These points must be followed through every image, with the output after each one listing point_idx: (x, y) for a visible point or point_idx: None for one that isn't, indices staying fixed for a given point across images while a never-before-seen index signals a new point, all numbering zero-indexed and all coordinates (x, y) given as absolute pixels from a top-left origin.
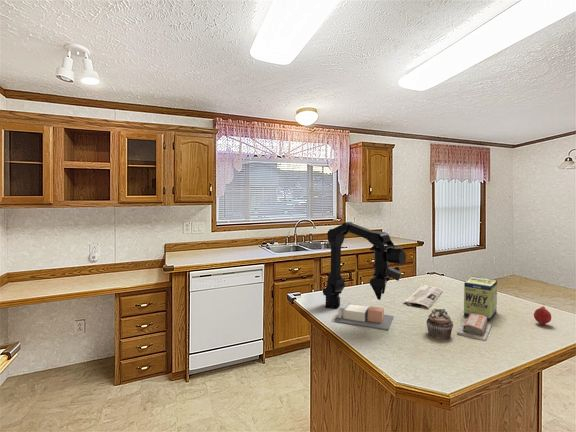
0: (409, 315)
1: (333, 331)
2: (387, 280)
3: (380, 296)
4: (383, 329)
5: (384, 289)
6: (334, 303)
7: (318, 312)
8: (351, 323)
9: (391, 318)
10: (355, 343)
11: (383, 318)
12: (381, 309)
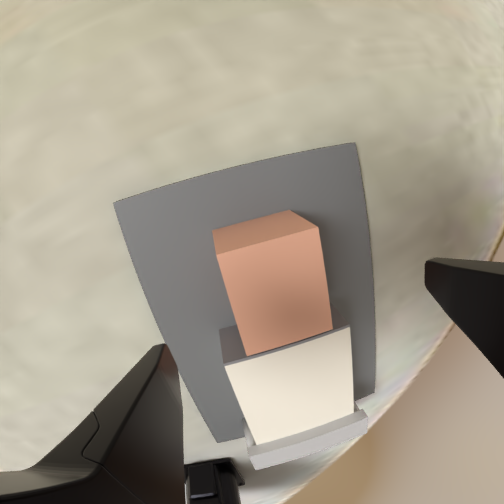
0: (29, 138)
1: (446, 333)
2: (59, 501)
3: (474, 264)
4: (357, 169)
5: (154, 379)
6: (227, 481)
7: (306, 465)
8: (374, 333)
9: (167, 192)
10: (493, 221)
11: (229, 227)
12: (269, 253)
